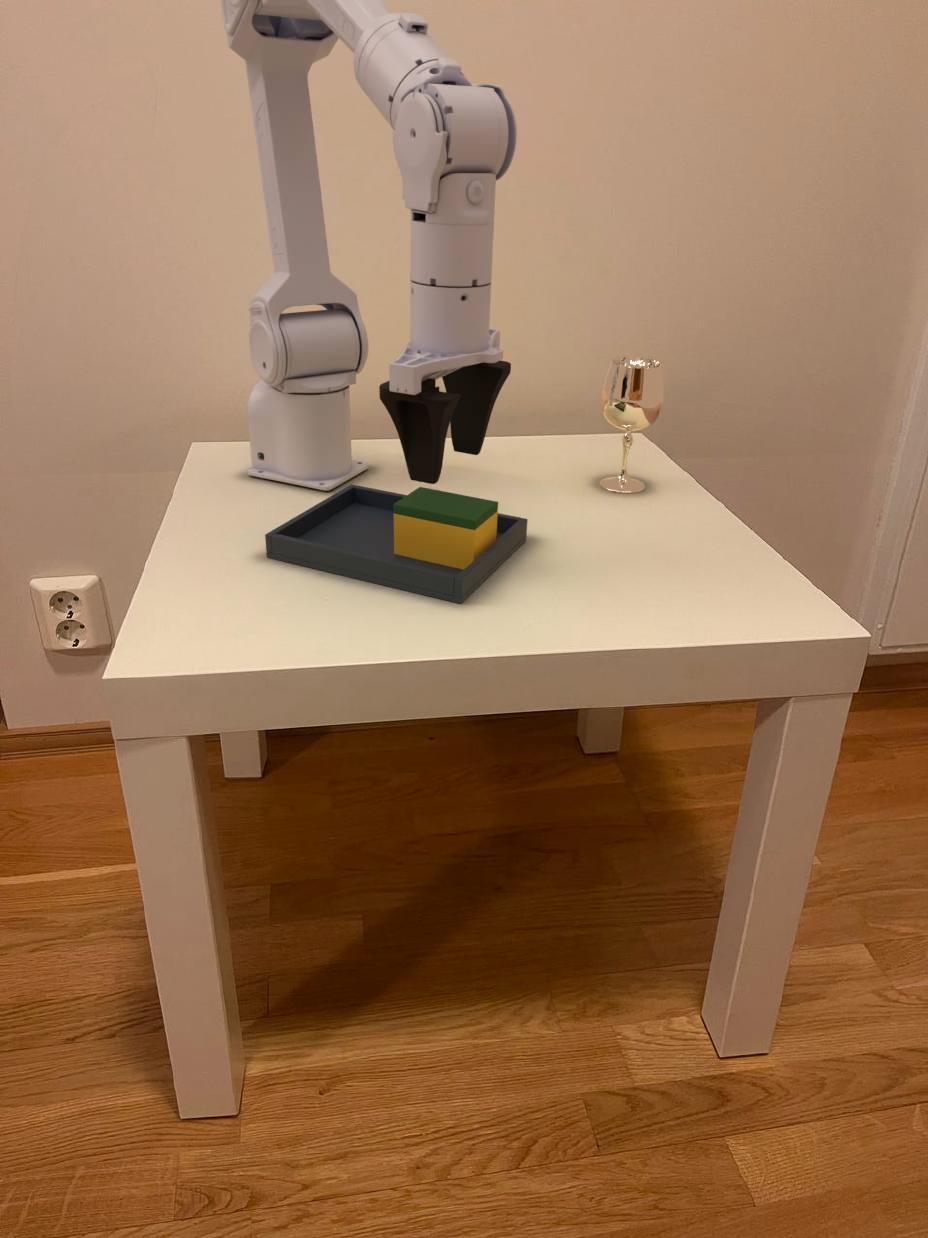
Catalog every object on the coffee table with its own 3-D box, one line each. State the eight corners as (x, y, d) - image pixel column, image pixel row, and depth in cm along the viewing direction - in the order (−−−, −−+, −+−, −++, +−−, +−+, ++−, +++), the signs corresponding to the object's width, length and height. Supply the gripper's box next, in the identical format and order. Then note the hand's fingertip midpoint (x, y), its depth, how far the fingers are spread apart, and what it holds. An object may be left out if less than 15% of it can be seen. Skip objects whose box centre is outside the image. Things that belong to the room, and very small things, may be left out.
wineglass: (655, 480, 92) (672, 359, 86) (646, 498, 87) (663, 372, 81) (599, 472, 93) (611, 353, 87) (587, 490, 88) (599, 365, 83)
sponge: (393, 554, 73) (393, 503, 71) (419, 534, 76) (419, 486, 74) (473, 572, 70) (475, 520, 68) (495, 551, 74) (498, 501, 72)
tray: (266, 557, 73) (264, 534, 72) (351, 504, 83) (351, 483, 82) (461, 604, 67) (461, 579, 66) (526, 540, 77) (527, 518, 76)
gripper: (458, 301, 57) (452, 505, 63) (540, 274, 68) (528, 448, 75) (360, 290, 59) (364, 487, 66) (455, 265, 71) (451, 435, 77)
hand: (446, 465), depth 71 cm, fingers open, 7 cm apart
